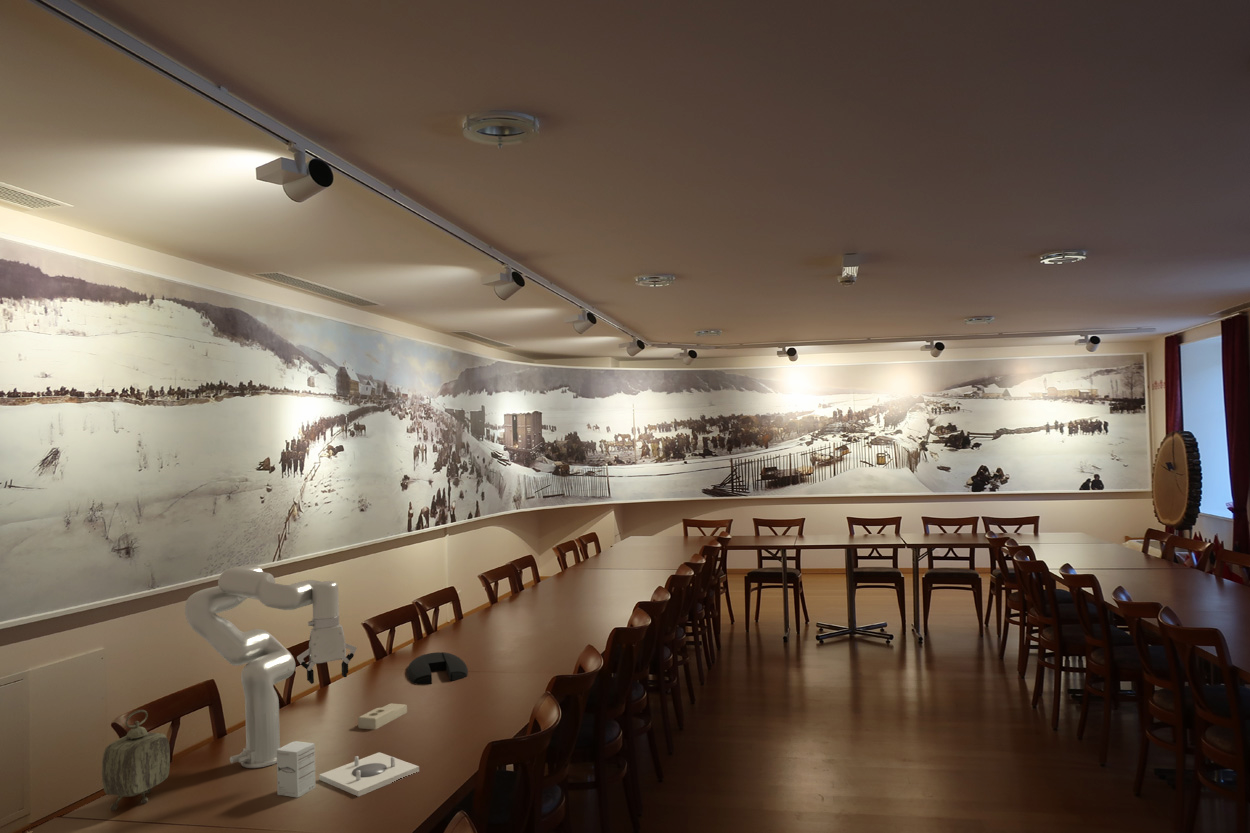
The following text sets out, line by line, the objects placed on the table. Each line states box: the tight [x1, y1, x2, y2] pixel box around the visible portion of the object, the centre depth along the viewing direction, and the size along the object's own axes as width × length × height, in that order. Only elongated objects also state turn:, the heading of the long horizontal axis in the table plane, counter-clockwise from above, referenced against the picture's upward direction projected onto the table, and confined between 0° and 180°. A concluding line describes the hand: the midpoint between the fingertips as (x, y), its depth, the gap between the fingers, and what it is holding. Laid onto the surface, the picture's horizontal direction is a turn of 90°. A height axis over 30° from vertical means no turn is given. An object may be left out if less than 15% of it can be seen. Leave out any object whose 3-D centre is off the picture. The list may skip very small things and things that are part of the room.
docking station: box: [406, 652, 469, 685], centre depth 343 cm, size 25×41×5 cm, turn 19°
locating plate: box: [318, 752, 420, 797], centre depth 232 cm, size 20×20×4 cm
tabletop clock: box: [101, 709, 171, 811], centre depth 220 cm, size 14×9×25 cm, turn 163°
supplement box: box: [276, 740, 316, 799], centre depth 223 cm, size 7×7×13 cm
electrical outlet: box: [357, 702, 408, 730], centre depth 281 cm, size 7×4×18 cm
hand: (328, 679), depth 242 cm, fingers open, 9 cm apart
